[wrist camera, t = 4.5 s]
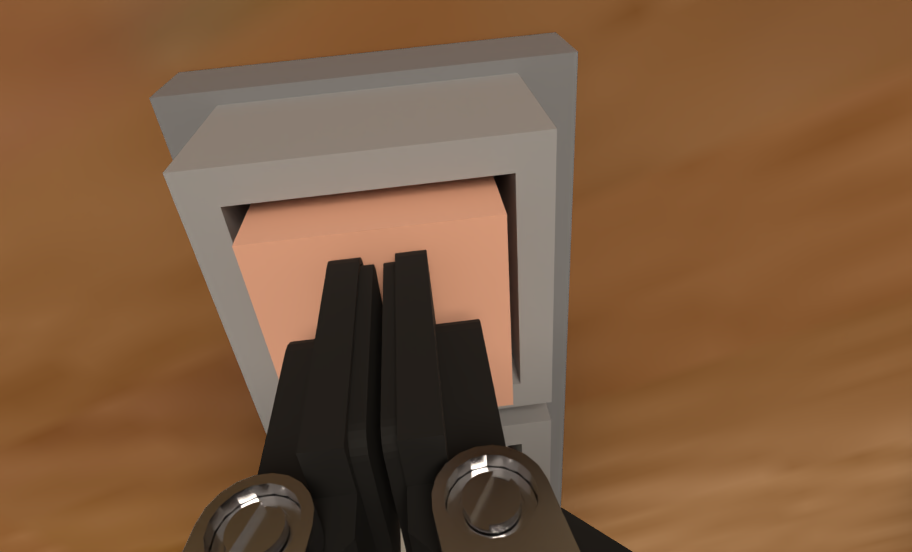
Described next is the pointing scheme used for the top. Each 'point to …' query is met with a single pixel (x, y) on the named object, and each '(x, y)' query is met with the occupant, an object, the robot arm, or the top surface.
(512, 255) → the button board
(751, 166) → the top surface
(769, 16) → the top surface
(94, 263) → the top surface
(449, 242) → the terracotta button
